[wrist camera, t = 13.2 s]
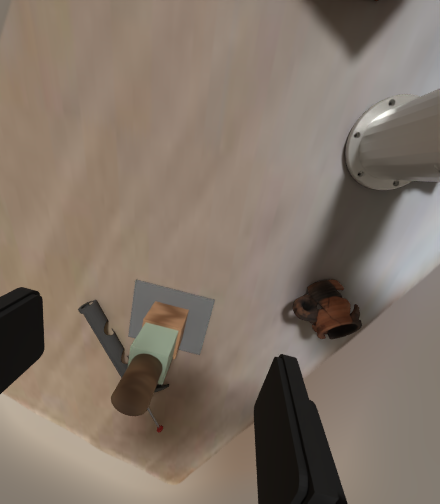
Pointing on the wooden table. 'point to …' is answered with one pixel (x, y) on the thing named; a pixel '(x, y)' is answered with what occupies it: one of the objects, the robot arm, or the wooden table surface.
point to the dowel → (137, 385)
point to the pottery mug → (328, 310)
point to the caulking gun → (110, 342)
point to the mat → (195, 304)
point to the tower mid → (155, 345)
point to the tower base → (168, 319)
